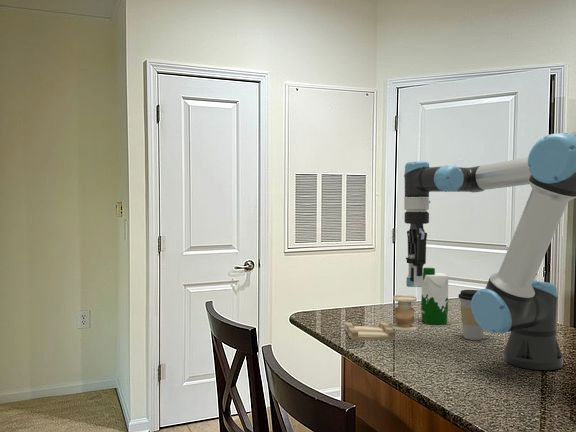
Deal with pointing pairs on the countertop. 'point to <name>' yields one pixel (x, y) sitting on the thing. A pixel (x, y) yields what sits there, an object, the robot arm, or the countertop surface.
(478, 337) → the coffee cup
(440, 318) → the milk carton
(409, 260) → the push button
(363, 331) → the terminal board
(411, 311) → the bobbin
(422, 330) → the countertop surface
